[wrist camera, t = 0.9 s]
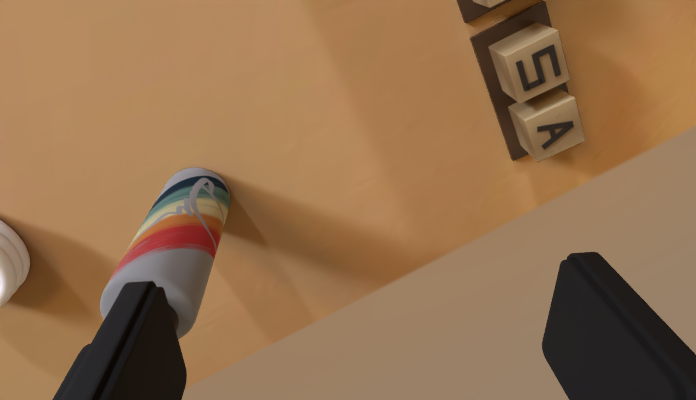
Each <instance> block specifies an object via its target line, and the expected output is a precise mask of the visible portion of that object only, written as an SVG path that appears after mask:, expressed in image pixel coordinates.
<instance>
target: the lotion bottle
mask: <svg viewBox="0 0 696 400" xmlns="http://www.w3.org/2000/svg"><path fill="white" fill-rule="evenodd" d="M229 206H230V193H229V189H228V187H227V185H226V184H225V182H224V181H223V180H222V179H221V178H220V177H219V176H218V175H216V174H215V173H213V172H211V171H209V170H206V169H202V168H187V169H184V170H181V171H179V172H177V173H176V174H174V175H173V176H172V177H171V178H170V179H169V181H168V182H167V184H166V185H165V187H164V188H163V190H162V192H161V193H160V195H159V197H158V198H157V200H156V202H155V203H154V205H153V207H152V209H151V210H150V212H149V214H148V215H147V217H146V219H145V221H144V222H143V224H142V226H141V227H140V229H139V231H138V232H137V234H136V236H135V238H134V239H133V241H132V243H131V244H130V246H129V248H128V249H127V251H126V253H125V255H124V256H123V258H122V260H121V261H120V263H119V265H118V267H117V268H116V270H115V272H114V273H113V275H112V277H111V279H110V280H109V282H108V284H107V286H106V287H105V289H104V291H103V294H102V297H101V300H100V310H101V314H102V316H103V318H104V320H105V318H106V316H107V314H108V313H109V311H110V309H111V307H112V305H113V304H114V302H115V300H116V298H117V296H118V295H119V293H120V291H121V289H122V288H123V286H124V285H125V284H126V283H128V282H142V281H153V282H154V283H155V284H156V286H157V287H163V288H164V290H165V294H166V297H167V301H168V305H169V308H170V312H171V316H172V319H173V323H174V327H175V330H176V334H177V338H178V339H180V338H181V337H183V336H184V335H186V334H187V333H188V332H189V331H190V329H191V328H192V326H193V324H194V323H195V320H196V317H197V315H198V311H199V308H200V305H201V302H202V298H203V295H204V292H205V288H206V285H207V282H208V278H209V275H210V271H211V268H212V265H213V261H214V258H215V254H216V251H217V248H218V244H219V241H220V238H221V234H222V231H223V227H224V224H225V221H226V217H227V214H228V210H229Z"/></svg>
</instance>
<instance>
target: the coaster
mask: <svg viewBox="0 0 696 400" xmlns="http://www.w3.org/2000/svg"><path fill="white" fill-rule="evenodd" d="M29 268H30V257H29V253H28V251H27V248H26V246H25V244H24V243H23V241H22V240H21V238H20V237H19V236H18V235H17V234H16V233H15V231H14V230H12V229H11V228H10V227H9V226H8V225H6V224H5V223H4V222H2V221H1V220H0V306H2V305H3V304H5V303H6V302H7V301H8V300H9V299H10V298H11V296H12V295H13V294H14V293H15V292H16V291H17V289H18V288H19V286H21V284H22V283H23V282H24V281H25V279H26V277H27V275H28V272H29Z"/></svg>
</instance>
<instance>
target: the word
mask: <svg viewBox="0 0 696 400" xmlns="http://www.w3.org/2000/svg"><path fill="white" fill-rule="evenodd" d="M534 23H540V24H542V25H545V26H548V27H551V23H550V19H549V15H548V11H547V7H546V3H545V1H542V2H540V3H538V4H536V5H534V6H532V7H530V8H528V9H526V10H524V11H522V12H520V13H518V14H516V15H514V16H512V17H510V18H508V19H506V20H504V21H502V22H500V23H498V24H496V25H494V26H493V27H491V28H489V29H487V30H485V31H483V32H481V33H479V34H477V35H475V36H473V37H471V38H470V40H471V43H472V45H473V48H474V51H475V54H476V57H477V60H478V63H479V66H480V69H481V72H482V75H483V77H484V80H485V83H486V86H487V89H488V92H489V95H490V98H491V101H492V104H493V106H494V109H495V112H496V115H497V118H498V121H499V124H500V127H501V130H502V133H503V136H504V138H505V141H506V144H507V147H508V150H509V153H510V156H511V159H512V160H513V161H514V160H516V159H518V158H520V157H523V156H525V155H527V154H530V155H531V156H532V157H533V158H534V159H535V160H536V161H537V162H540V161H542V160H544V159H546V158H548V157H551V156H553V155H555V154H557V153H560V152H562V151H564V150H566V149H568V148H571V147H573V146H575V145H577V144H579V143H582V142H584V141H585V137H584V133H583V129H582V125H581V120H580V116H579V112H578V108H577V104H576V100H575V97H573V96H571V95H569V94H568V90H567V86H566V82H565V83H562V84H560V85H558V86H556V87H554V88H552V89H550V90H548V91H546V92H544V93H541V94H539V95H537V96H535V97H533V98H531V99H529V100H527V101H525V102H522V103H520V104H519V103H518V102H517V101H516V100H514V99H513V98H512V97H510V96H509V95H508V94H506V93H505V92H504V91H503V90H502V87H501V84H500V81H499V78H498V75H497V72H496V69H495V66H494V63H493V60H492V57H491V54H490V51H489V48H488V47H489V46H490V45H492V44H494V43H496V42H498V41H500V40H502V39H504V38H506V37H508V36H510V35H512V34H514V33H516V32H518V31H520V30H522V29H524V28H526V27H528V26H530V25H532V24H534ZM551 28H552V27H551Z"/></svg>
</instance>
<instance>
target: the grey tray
mask: <svg viewBox="0 0 696 400" xmlns="http://www.w3.org/2000/svg"><path fill="white" fill-rule="evenodd" d="M508 1H510V0H457V2H458V5H459V8H460V11H461V14H462V17H463V20H464V22H465V23H467V22H469V21H471V20H473V19H475V18H477V17H479V16H481V15H483V14H485V13H487V12H489V11H491V10H493V9H495V8H497V7H499V6H501V5H502V4H504V3H506V2H508Z"/></svg>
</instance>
